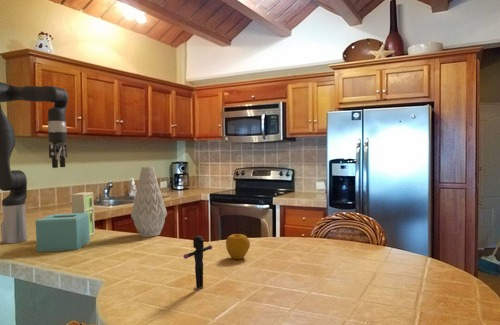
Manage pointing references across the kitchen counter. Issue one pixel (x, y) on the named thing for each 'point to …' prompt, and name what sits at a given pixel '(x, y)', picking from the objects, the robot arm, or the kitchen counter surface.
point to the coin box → (62, 232)
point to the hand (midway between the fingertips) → (59, 167)
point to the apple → (237, 245)
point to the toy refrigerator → (84, 207)
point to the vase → (148, 205)
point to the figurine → (198, 259)
